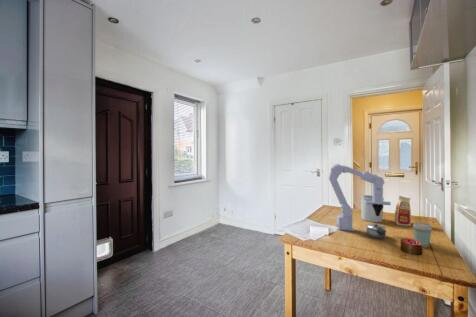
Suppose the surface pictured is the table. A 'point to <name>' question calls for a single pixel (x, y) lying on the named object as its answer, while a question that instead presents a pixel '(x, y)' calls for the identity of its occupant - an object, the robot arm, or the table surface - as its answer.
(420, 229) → the coffee cup
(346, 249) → the table surface
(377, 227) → the lid
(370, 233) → the pot
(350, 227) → the robot arm
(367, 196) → the utensil holder
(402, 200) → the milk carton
